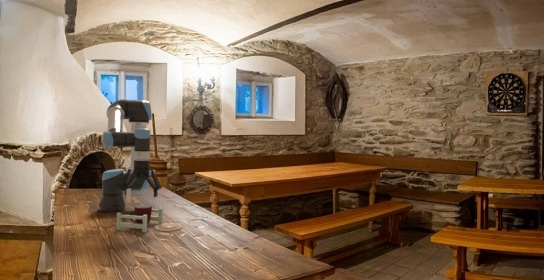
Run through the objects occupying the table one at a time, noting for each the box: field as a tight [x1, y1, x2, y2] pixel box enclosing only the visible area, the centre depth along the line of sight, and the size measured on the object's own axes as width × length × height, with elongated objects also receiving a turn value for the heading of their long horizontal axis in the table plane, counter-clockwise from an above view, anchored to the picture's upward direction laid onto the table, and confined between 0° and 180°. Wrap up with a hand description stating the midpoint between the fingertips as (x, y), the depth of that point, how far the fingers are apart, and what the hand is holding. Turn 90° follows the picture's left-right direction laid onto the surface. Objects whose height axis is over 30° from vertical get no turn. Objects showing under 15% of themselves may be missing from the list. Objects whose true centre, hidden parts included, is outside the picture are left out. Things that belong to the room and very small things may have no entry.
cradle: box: [116, 207, 164, 233], centre depth 203 cm, size 15×18×8 cm
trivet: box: [154, 222, 183, 232], centre depth 202 cm, size 13×13×1 cm
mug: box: [128, 204, 153, 227], centre depth 203 cm, size 10×8×10 cm
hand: (141, 202), depth 202 cm, fingers open, 13 cm apart
